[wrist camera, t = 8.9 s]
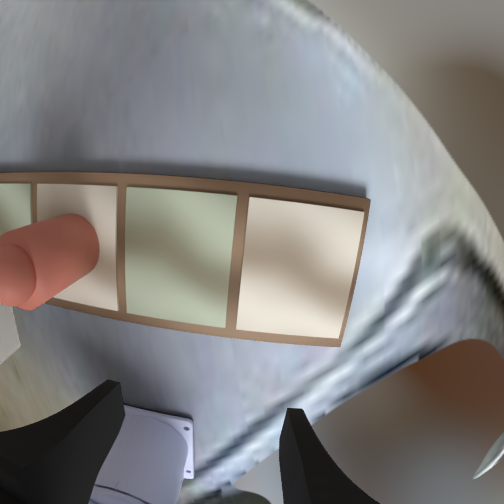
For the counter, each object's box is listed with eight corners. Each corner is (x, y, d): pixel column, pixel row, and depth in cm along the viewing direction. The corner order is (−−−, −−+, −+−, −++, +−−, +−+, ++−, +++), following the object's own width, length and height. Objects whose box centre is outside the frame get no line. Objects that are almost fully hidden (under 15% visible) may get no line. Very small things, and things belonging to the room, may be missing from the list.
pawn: (100, 280, 20) (27, 336, 12) (51, 272, 20) (-24, 316, 12) (99, 215, 18) (13, 245, 11) (48, 211, 19) (-38, 236, 11)
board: (337, 341, 21) (340, 348, 20) (-8, 283, 21) (-15, 287, 20) (366, 198, 19) (371, 199, 18) (-15, 173, 19) (-23, 174, 18)
